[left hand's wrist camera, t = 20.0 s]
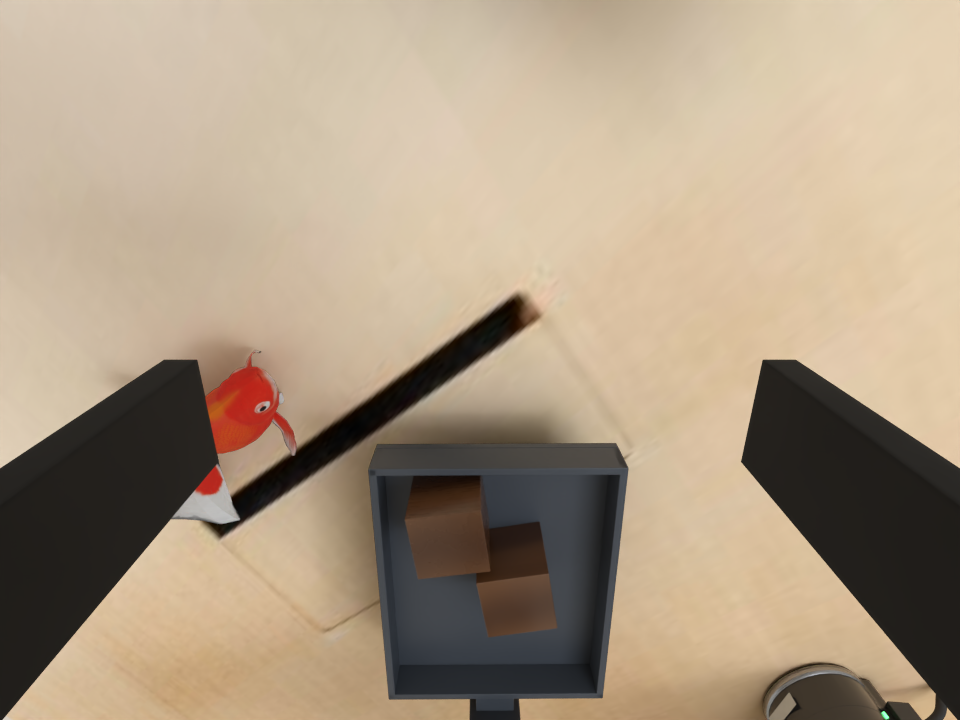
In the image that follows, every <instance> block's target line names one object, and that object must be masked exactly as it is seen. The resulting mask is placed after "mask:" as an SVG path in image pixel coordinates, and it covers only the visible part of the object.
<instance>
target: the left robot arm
mask: <svg viewBox="0 0 960 720" xmlns="http://www.w3.org/2000/svg"><path fill="white" fill-rule="evenodd" d="M218 462H219V460H218V456H217V451H216V446H215V441H214V437H213V432H212V427H211V423H210V418H209V413H208V408H207V404H206V399H205V394H204V390H203V385H202V380H201V375H200V371H199V366H198V361H197V360H163V361H162V362H160V363H159V364H157V365H156V366H154V367H153V368H151V369H150V370H148V371H147V372H145V373H144V374H142V375H140V376H139V377H137V378H136V379H134V380H133V381H131V382H130V383H128V384H127V385H125V386H124V387H122V388H121V389H119V390H118V391H116V392H115V393H113V394H112V395H110V396H109V397H107V398H106V399H104V400H103V401H101V402H100V403H98V404H97V405H95V406H94V407H92V408H91V409H89V410H88V411H86V412H85V413H83V414H82V415H80V416H79V417H77V418H76V419H74V420H73V421H71V422H70V423H68V424H67V425H65V426H64V427H62V428H60V429H59V430H57V431H56V432H54V433H53V434H51V435H50V436H48V437H47V438H45V439H44V440H42V441H41V442H39V443H38V444H36V445H35V446H33V447H32V448H30V449H29V450H27V451H26V452H24V453H23V454H21V455H20V456H18V457H17V458H15V459H14V460H12V461H11V462H9V463H8V464H6V465H5V466H3V467H2V468H0V720H3V718H4V717H5V716H6V715H7V714H8V712H9V711H10V710H11V709H12V708H13V706H14V705H15V704H16V703H17V702H18V701H19V699H20V698H21V697H22V696H23V695H24V693H25V692H26V691H27V690H28V689H29V687H30V686H31V685H32V684H33V683H34V681H35V680H36V679H37V678H38V677H39V676H40V674H41V673H42V672H43V671H44V670H45V668H46V667H47V666H48V665H49V664H50V662H51V661H52V660H53V659H54V658H55V656H56V655H57V654H58V653H59V652H60V650H61V649H62V648H63V647H64V646H65V645H66V643H67V642H68V641H69V640H70V639H71V637H72V636H73V635H74V634H75V633H76V631H77V630H78V629H79V628H80V627H81V625H82V624H83V623H84V622H85V621H86V620H87V618H88V617H89V616H90V615H91V614H92V612H93V611H94V610H95V609H96V608H97V606H98V605H99V604H100V603H101V602H102V600H103V599H104V598H105V597H106V596H107V594H108V593H109V592H110V591H111V590H112V589H113V587H114V586H115V585H116V584H117V583H118V581H119V580H120V579H121V578H122V577H123V575H124V574H125V573H126V572H127V571H128V569H129V568H130V567H131V566H132V565H133V563H134V562H135V561H136V560H137V559H138V558H139V556H140V555H141V554H142V553H143V552H144V550H145V549H146V548H147V547H148V546H149V544H150V543H151V542H152V541H153V540H154V538H155V537H156V536H157V535H158V534H159V533H160V531H161V530H162V529H163V528H164V527H165V525H166V524H167V523H168V522H169V521H170V519H171V518H172V517H173V516H174V515H175V513H176V512H177V511H178V510H179V509H180V507H181V506H182V505H183V504H184V503H185V502H186V500H187V499H188V498H189V497H190V496H191V494H192V493H193V492H194V491H195V490H196V488H197V487H198V486H199V485H200V484H201V482H202V481H203V480H204V479H205V478H206V477H207V475H208V474H209V473H210V472H211V471H212V469H213V468H214V467H215V466H216V465H217V463H218ZM741 462H742V463H743V465H744V466H745V467H746V468H747V469H748V471H749V472H750V473H751V474H752V475H753V477H754V478H755V479H756V480H757V481H758V482H759V484H760V485H761V486H762V487H763V488H764V490H765V491H766V492H767V493H768V494H769V496H770V497H771V498H772V499H773V500H774V502H775V503H776V504H777V505H778V506H779V507H780V509H781V510H782V511H783V512H784V513H785V515H786V516H787V517H788V518H789V519H790V521H791V522H792V523H793V524H794V525H795V527H796V528H797V529H798V530H799V531H800V533H801V534H802V535H803V536H804V537H805V538H806V540H807V541H808V542H809V543H810V544H811V546H812V547H813V548H814V549H815V550H816V552H817V553H818V554H819V555H820V556H821V558H822V559H823V560H824V561H825V562H826V563H827V565H828V566H829V567H830V568H831V569H832V571H833V572H834V573H835V574H836V575H837V577H838V578H839V579H840V580H841V581H842V583H843V584H844V585H845V586H846V587H847V589H848V590H849V591H850V592H851V593H852V594H853V596H854V597H855V598H856V599H857V600H858V602H859V603H860V604H861V605H862V606H863V608H864V609H865V610H866V611H867V612H868V614H869V615H870V616H871V617H872V618H873V620H874V621H875V622H876V623H877V624H878V625H879V627H880V628H881V629H882V630H883V631H884V633H885V634H886V635H887V636H888V637H889V639H890V640H891V641H892V642H893V643H894V645H895V646H896V647H897V648H898V649H899V650H900V652H901V653H902V654H903V655H904V656H905V658H906V659H907V660H908V661H909V662H910V664H911V665H912V666H913V667H914V668H915V670H916V671H917V672H918V673H919V674H920V676H921V677H922V678H923V679H924V680H925V681H926V683H927V684H928V685H929V686H930V687H931V689H932V690H933V691H934V692H935V693H936V695H937V696H938V697H939V698H940V699H941V701H942V702H943V703H944V704H945V705H946V707H947V708H948V709H949V710H950V711H951V712H952V714H953V715H954V716H955V717H956V718H957V720H960V468H958V467H957V466H955V465H954V464H952V463H951V462H949V461H948V460H946V459H945V458H943V457H942V456H940V455H939V454H937V453H936V452H934V451H933V450H931V449H930V448H928V447H927V446H925V445H924V444H922V443H921V442H919V441H918V440H916V439H915V438H913V437H912V436H910V435H909V434H907V433H906V432H904V431H903V430H901V429H900V428H898V427H896V426H895V425H893V424H892V423H890V422H889V421H887V420H886V419H884V418H883V417H881V416H880V415H878V414H877V413H875V412H874V411H872V410H871V409H869V408H868V407H866V406H865V405H863V404H862V403H860V402H859V401H857V400H856V399H854V398H853V397H851V396H850V395H848V394H847V393H845V392H844V391H842V390H841V389H839V388H838V387H836V386H835V385H833V384H832V383H830V382H829V381H827V380H826V379H824V378H823V377H821V376H820V375H818V374H816V373H815V372H813V371H812V370H810V369H809V368H807V367H806V366H804V365H803V364H801V363H800V362H798V361H797V360H763V361H762V366H761V371H760V375H759V380H758V385H757V390H756V394H755V399H754V404H753V408H752V413H751V418H750V423H749V427H748V432H747V437H746V441H745V446H744V451H743V456H742V460H741Z"/></svg>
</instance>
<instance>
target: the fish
mask: <svg viewBox="0 0 960 720" xmlns="http://www.w3.org/2000/svg"><path fill="white" fill-rule="evenodd" d="M253 353H260V351H257V350H255V351H254V352H253ZM253 353H252V354H253ZM252 354H251V355H250V357H249V358H248V360H247V362H246V365H245V367H244V368H239V369H237V370H235V371H234V372H233V373H232V374H231V376H230V377H229V378H228V379H226V380H225V381H224V382H222V384H221V385H220V387H218V388H216V389H214V390H213V391H212V392H210V393H209V394H208V395H207V396H206V397H205V399H206V404H207V408H208V413H209V418H210V423H211V427H212V432H213V437H214V441H215V446H216V451H217V453H218V454H219V453H226V452H231V451H235V450H238V449H241V448H243V447H245V446H247V445H248V444H250V443H252V442H254V441H255V440H257V439H258V438H259V437H260V436H261V435H262V433H263V432H264V431H265V430H266V429H267V428H268V427H269V425H270V424H271V422H273V423H274V424H275V425H276V426H278V427H279V428H280V429H281V431H282V434H283V437H284V441H285V443H286V445H287V447H288V448H289V450H290V452H291V455H292V456H294V455H295V454H296V451H297V446H296V441H295V439H294V433H293V430H292V428H291V427H290V425H289V424H288V422H287V420H285V419H284V418H283V417H282V416H281V415H280V414H279V413H278V412H276V410H277V407H278V405H279V404H282V403H283V402H284V397H283V394H282V393H279V392H278V389H277V386H276V383H275V381H274V379H273V378H272V377H271V376H270V375H269V374H268V373H267V372H266V371H265V370H263V369H261V368H258V367H252V362H251V356H252ZM171 519H188V520H203V521H208V522H213V523H218V524H223V523H228V522H232V521H237V520H240V516H239V514H238V513H237V511H236V509H235V507H234V505H233V503H232V500H231V497H230V494H229V491H228V488H227V485H226V482H225V479H224V477H223V474H222V471H221V468H220V465H219V462H218V463H217V465H216V466H215V467H214V468H213V469H212V471H211V472H210V473H209V474H208V475H207V477H206V478H205V479H204V480H203V481H202V482H201V484H200V485H199V486H198V487H197V488H196V490H195V491H194V492H193V493H192V494H191V496H190V497H189V498H188V499H187V500H186V502H185V503H184V504H183V505H182V506H181V507H180V509H179V510H178V511H177V512H176V513H175V515H174V516H173V517H172V518H171Z"/></svg>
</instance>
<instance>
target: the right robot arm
mask: <svg viewBox="0 0 960 720" xmlns="http://www.w3.org/2000/svg"><path fill="white" fill-rule="evenodd" d="M763 711H764V715H765V717H766V719H767V720H922V719H921V718H920V717H919V716H918V714H917V713H916V712H915V711H914V709H913V708H912V707H911V705H910V704H909V703H902V702H889V701H888V702H887V703H885V701H884V700H883V699H882V697H881V696H880V695H879V693H878V692H877V691H876V689H875V688H874V687H873V685H872V684H871V683H870V681H869V680H862V679H859V678H858V677H857V675H855V674H854V673H853V672H852V671H850V670H848V669H846V668H843V667H840V666H835V665H813V666H808V667H804V668H801V669H798V670H795V671H793V672H791V673H789V674H787V675H785V676H784V677H782V678H781V679H779V680H778V681H777V682H776V683H775V684H774V685H773V686H772V687H771V688H770V689H769V691H768V692H767V694H766V696H765V699H764V702H763ZM946 711H947V707H946V705H945V704H944V703H943V702H942V701H941V699H940V698H939V697H938V696H937V695H936V704H935V710H934V712H933V713H932V714H931V715H930V716H929V717H928V718H927V719H925V720H943V719H944V717H945V715H946Z"/></svg>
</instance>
